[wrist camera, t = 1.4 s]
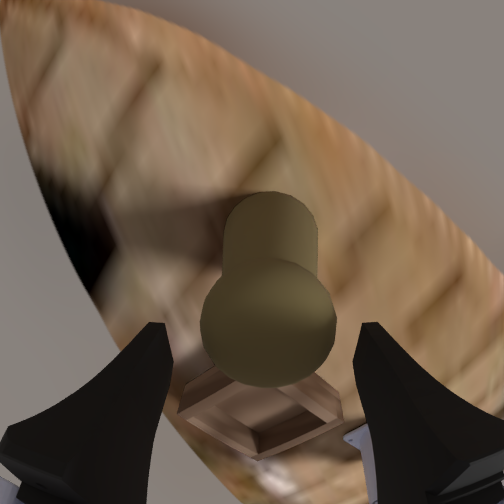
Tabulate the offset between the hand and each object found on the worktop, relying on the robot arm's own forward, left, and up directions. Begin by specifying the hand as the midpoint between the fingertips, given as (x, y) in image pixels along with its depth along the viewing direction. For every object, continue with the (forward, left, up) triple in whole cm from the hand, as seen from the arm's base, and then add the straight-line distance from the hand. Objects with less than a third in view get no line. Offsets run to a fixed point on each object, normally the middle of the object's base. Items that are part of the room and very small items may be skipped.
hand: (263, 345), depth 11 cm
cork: (0, 0, -10) cm, 10 cm away
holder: (-10, +10, -10) cm, 17 cm away
